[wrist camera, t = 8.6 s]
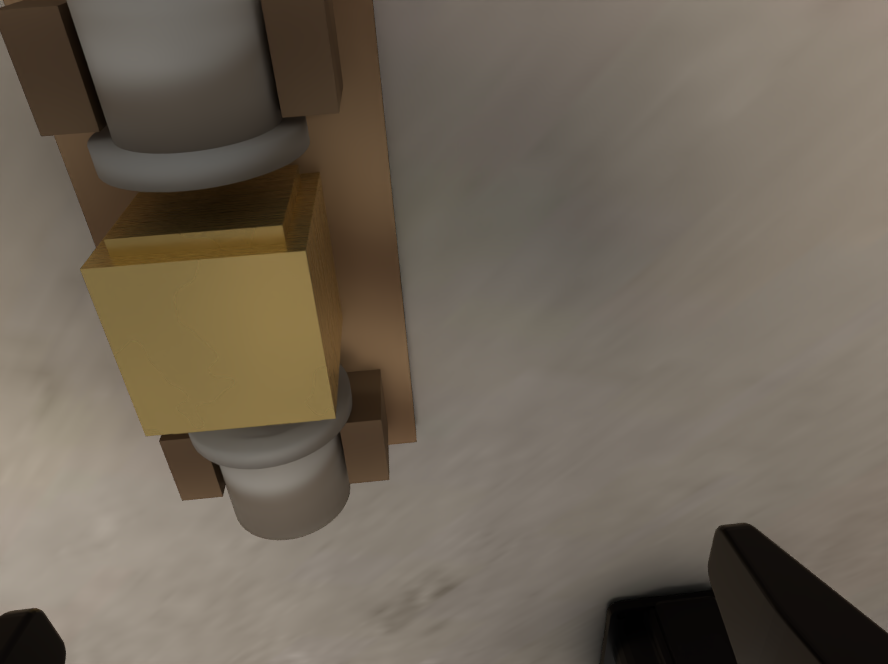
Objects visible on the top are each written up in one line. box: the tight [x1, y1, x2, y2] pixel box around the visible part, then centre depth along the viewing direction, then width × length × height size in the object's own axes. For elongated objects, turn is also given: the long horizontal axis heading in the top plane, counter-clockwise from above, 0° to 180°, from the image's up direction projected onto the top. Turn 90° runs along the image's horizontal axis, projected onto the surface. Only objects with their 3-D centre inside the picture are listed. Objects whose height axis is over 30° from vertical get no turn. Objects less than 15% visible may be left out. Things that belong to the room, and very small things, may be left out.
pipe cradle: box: [0, 0, 417, 540], centre depth 17 cm, size 15×8×5 cm, turn 3°
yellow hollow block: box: [80, 165, 343, 436], centre depth 17 cm, size 5×4×4 cm
